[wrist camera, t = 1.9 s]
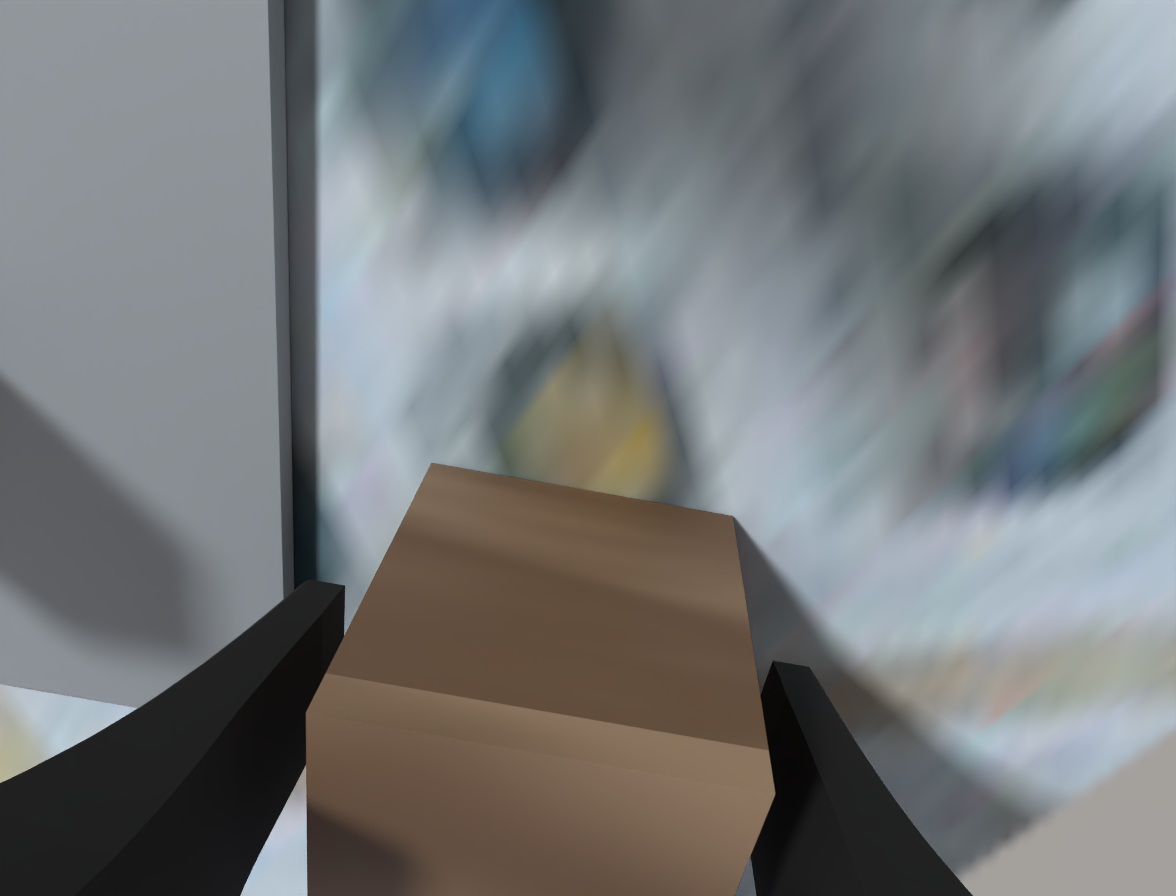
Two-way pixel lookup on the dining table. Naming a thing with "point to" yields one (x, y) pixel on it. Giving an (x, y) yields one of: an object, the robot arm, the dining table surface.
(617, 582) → the brown shipping carton
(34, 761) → the dining table surface
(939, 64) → the dining table surface
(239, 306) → the flat grey base plate
